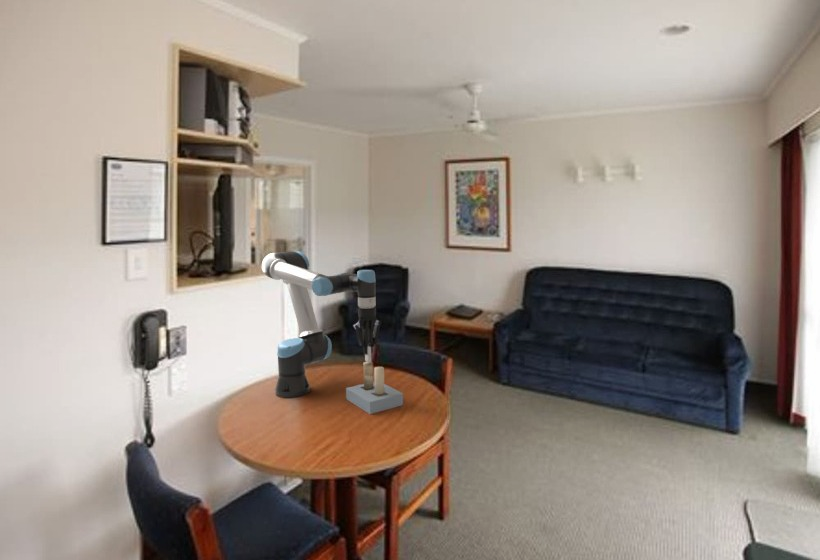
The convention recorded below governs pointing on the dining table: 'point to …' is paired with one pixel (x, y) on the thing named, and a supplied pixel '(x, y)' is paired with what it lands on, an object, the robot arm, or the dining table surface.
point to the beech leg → (368, 375)
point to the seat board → (375, 395)
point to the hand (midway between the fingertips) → (368, 361)
